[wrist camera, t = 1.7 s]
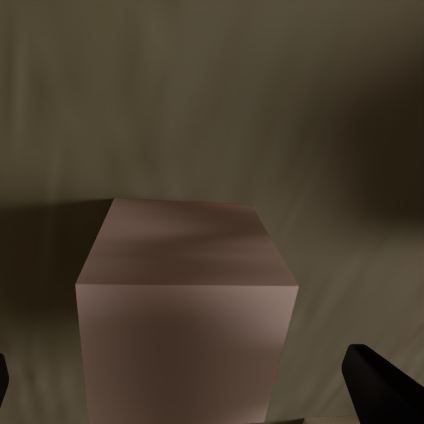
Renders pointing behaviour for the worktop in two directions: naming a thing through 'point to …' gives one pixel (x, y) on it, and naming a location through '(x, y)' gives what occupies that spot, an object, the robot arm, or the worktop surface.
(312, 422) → the beech base block
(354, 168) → the worktop surface
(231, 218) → the rose cube
